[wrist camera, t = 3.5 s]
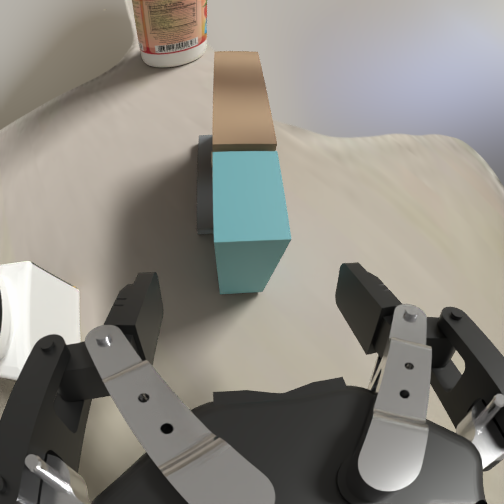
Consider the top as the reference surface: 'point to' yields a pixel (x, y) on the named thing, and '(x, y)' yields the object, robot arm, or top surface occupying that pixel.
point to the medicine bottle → (33, 313)
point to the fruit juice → (171, 30)
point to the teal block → (248, 219)
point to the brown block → (233, 122)
